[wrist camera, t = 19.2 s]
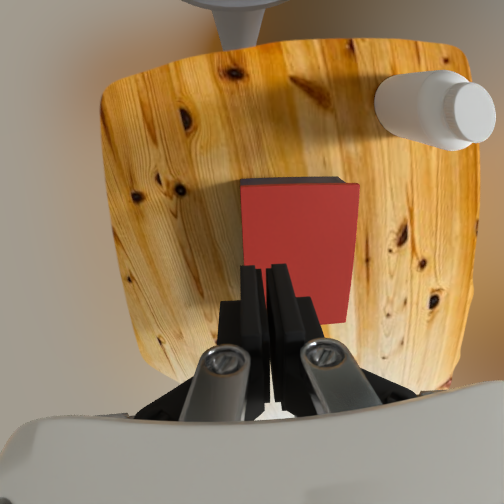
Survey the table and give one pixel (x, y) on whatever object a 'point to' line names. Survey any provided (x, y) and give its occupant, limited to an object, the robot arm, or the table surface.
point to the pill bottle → (435, 109)
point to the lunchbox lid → (304, 239)
